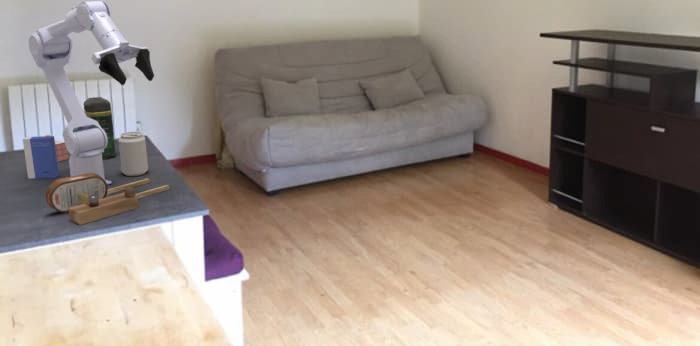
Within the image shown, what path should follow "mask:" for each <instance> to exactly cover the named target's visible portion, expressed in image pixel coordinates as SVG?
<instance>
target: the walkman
mask: <svg viewBox="0 0 700 346" xmlns="http://www.w3.org/2000/svg"><path fill="white" fill-rule="evenodd" d="M55 140H56V139H55V136H54V135H50V134H46V135H45V136H39V135H38V136H25V137H23V138H22V144H23V145H22V146H23V150H24V152H23V153H24V156H25V157H24V159H25V164H26V165H25V166H26V172H27V173H26V174H27V178H28V180H29V179H54V178H57V177H59V175H60V171H59V162H57V155H56V147H55Z"/></svg>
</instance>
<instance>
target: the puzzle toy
mask: <svg viewBox="0 0 700 346" xmlns="http://www.w3.org/2000/svg"><path fill="white" fill-rule="evenodd" d="M55 147H56V155H57V162H58V163H59V162H64V161H67V160H68V161H69V158H70V156H69V152H68V150H67V149H66V146H65V141H64V140H60V139H59V140H58V139H55Z"/></svg>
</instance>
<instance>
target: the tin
mask: <svg viewBox="0 0 700 346" xmlns="http://www.w3.org/2000/svg"><path fill="white" fill-rule="evenodd" d="M105 180H106V179H105ZM105 180H104V179H103V178H102V177H101V176H99V175H98V174H95V173H87V174H82V175H77V176H72V177H71V176H67V177H61V178H59V179H55V180H54V181H53V182H52V183H51V184H50V185H49V186H48V188H47V189H46V190H45V191H46V192H45V201H46V203H47V205H48V206H49V207H50V208H52V209H53V210H54V211H56V212H59V213H69V209H68V208H71V207H75V206H79V205H82V204H86V203H84V202H81V201H79V200H78V194H80V193H85V194H87V195H98V200H100V199H103V198H107V196H108V194H107V191H108V189H109V188H108V184H107V183H106V181H105Z"/></svg>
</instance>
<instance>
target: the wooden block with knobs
mask: <svg viewBox="0 0 700 346" xmlns="http://www.w3.org/2000/svg"><path fill="white" fill-rule="evenodd" d="M123 191H124V192H121V193H118V194H114V195H111V196H106V197H105V198H103V199H100V200H98V201H99V205H98V206H89V204H82V205H79V206H75V207H71V208H68V209H69V212H68V216H69V217H68V218H69V221H71V222H73V223H76V224H78V225H80V226H82V225H85V224H89V223H92V222H96V221H99V220H102V219H105V218H108V217H112V216H115V215H118V214H121V213H125V212H127V211H131V210H134V209H138V208H140V200H139V199H140V198H138V196H137V195H135V194H136V192H135V191H136V190H135V187H128V188H125V189H124V190H123Z"/></svg>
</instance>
